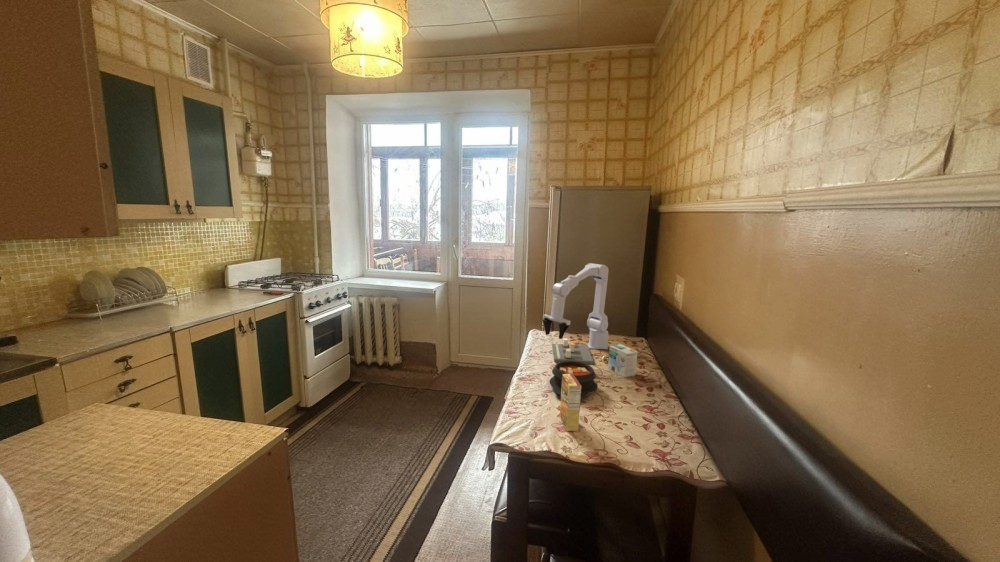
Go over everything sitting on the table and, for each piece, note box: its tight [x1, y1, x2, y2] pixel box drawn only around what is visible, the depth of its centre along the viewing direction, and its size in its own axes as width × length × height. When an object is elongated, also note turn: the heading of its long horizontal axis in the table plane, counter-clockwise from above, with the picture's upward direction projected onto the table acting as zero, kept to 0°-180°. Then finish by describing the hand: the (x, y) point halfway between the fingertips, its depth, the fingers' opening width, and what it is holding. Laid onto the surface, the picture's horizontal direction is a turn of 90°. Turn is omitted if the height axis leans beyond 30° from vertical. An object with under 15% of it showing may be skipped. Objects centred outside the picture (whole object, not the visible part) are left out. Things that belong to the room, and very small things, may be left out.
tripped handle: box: [569, 342, 576, 352], centre depth 183 cm, size 2×3×4 cm, turn 175°
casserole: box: [549, 361, 598, 399], centre depth 147 cm, size 25×19×8 cm
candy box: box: [559, 374, 582, 432], centre depth 120 cm, size 9×4×15 cm, turn 6°
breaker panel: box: [551, 337, 595, 365], centre depth 183 cm, size 18×22×5 cm
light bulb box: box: [607, 343, 638, 378], centre depth 163 cm, size 11×7×11 cm, turn 25°
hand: (553, 336), depth 178 cm, fingers open, 7 cm apart
